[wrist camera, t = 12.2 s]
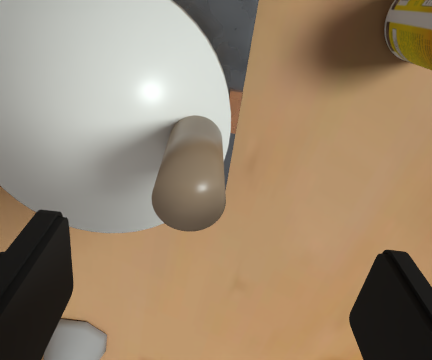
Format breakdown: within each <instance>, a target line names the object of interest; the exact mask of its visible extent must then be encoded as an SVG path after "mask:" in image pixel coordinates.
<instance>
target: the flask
mask: <svg viewBox="0 0 432 360" xmlns="http://www.w3.org/2000/svg"><path fill="white" fill-rule="evenodd" d="M106 341H107V335H106V334H105V333H103V332H102V331H100V330H98V329H97V328H95V327H94V326H92V325H91V324H89V323H88V322H82V321H74V320H66V319H60V321H59V323H58V325H57V327H56V329H55V331H54V333H53V335H52V337H51V340H50V342H49V344H48V346H47V348H46V350H45V352H44V360H99V359H100V358H101V357H102V355H103V354H104V353H105V351H106Z"/></svg>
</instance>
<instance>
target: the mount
mask: <svg viewBox="0 0 432 360" xmlns="http://www.w3.org/2000/svg"><path fill="white" fill-rule="evenodd" d="M173 1H174V2H176V3H177V4H178V5H179V6H181V7H182V8H183V9H184V10H185V11H186V12H187V13H188V14H189V15H190V16H191V17H192V19H193V20H194V21H195V22H196V23H197V24H198V26H199V27H200V28H201V30H202V31H203V32H204V34H205V35H206V36H207V38H208V40H209V41H210V43H211V45H212V47H213V49H214V50H215V52H216V54H217V56H218V59H219V61H220V64H221V66H222V69H223V72H224V75H225V79H226V83H227V87H228V94H229V102H230V110H231V132H230V139H229V145H228V149H227V153H226V156H225V159H224V178H225V190H226V184H227V179H228V173H229V167H230V161H231V156H232V150H233V144H234V139H235V134H236V128H237V123H238V117H239V111H240V106H241V100H242V94H243V87H244V81H245V76H246V70H247V64H248V58H249V53H250V47H251V41H252V35H253V30H254V24H255V18H256V13H257V7H258V1H259V0H173Z"/></svg>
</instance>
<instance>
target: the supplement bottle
mask: <svg viewBox="0 0 432 360" xmlns="http://www.w3.org/2000/svg"><path fill="white" fill-rule="evenodd" d="M384 32H385V39H386V42H387V45H388V47H389V49H390V50H391V52H392V53H393V54H394V55H396V56H397V57H398V58H400V59H402V60H404V61H407V62H410V63H413V64H416V65H419V66H422V67H424V68H427V69H430V70H432V0H395V1H394V2H393V4H392V5H391V7H390V9H389V11H388V14H387V17H386V21H385V27H384Z"/></svg>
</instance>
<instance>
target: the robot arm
mask: <svg viewBox="0 0 432 360" xmlns="http://www.w3.org/2000/svg"><path fill="white" fill-rule="evenodd" d="M72 291H73V272H72V259H71V246H70V233H69V221H68V218H67V217H63V215H62V213H61V212H59V211H51V210H42V209H41V210H38V211H37V212H36V214H35V215H34V216H33V218H32V219H31V220H30V221H29V223H28V224H27V225H26V226H25V228H24V229H23V230H22V231H21V233H20V234H19V235H18V236H17V238H16V239H15V240H14V241H13V243H12V244H11V245H10V246H9V248H8V249H7V250H6V251H5V252H0V360H41V359H42V357H43V354H44V352H45V350H46V348H47V346H48V344H49V342H50V340H51V337H52V335H53V333H54V331H55V329H56V327H57V325H58V323H59V321H60V318H61V316H62V314H63V312H64V310H65V308H66V306H67V304H68V301H69V299H70V297H71V295H72ZM349 321H350V326H351V328H352V331H353V334H354V336H355V339H356V341H357V344H358V347H359V349H360V352H361V354H362V357H363V360H432V287H431V286H430V284H429V283H428V281H427V280H426V278H425V277H424V276H423V274H422V273H421V271H420V270H419V268H418V267H417V266H416V264H415V263H414V261H413V260H412V258H411V257H410V256H409V254H408V253H406V252H402V251H394V250H385V251H384V252H383V253H382V254H379V255H377V257H376V259H375V261H374V263H373V265H372V267H371V270H370V272H369V274H368V276H367V278H366V280H365V282H364V285H363V287H362V289H361V291H360V293H359V295H358V297H357V299H356V302H355V304H354V306H353V308H352V310H351V312H350V317H349Z"/></svg>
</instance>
